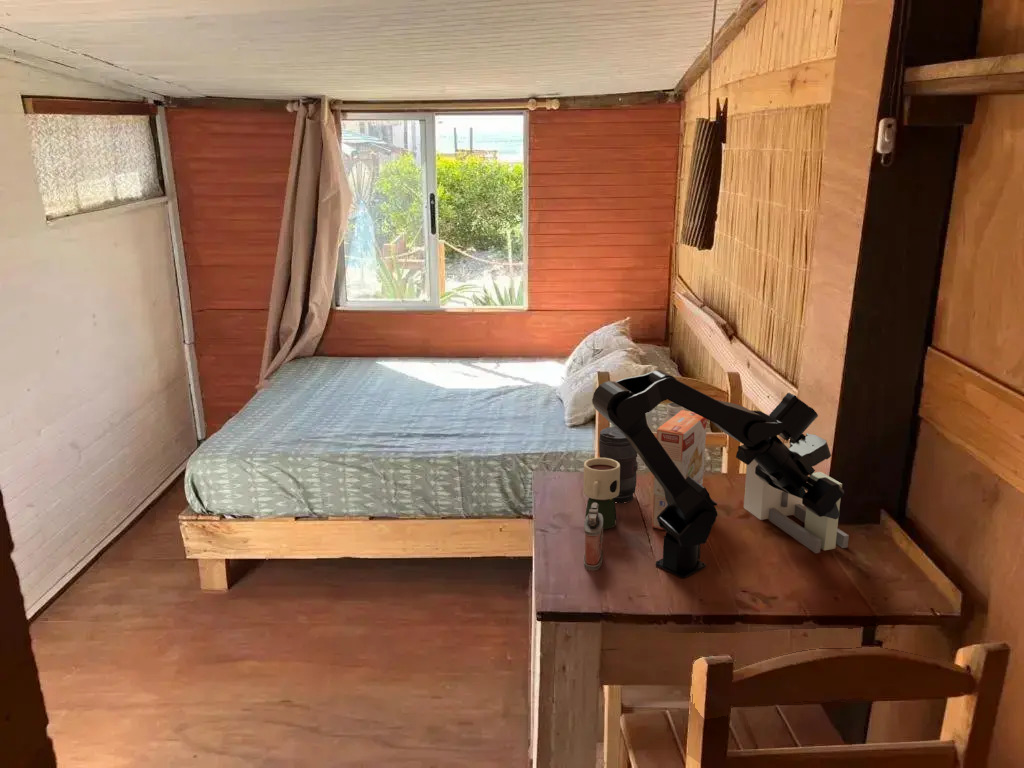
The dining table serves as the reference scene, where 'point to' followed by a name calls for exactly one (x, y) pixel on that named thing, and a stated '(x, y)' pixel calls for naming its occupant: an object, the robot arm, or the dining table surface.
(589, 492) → the character mug
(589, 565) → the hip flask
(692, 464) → the cracker box
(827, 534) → the rectangular block
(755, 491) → the cabinet
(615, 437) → the camera lens
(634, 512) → the dining table surface
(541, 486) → the dining table surface
